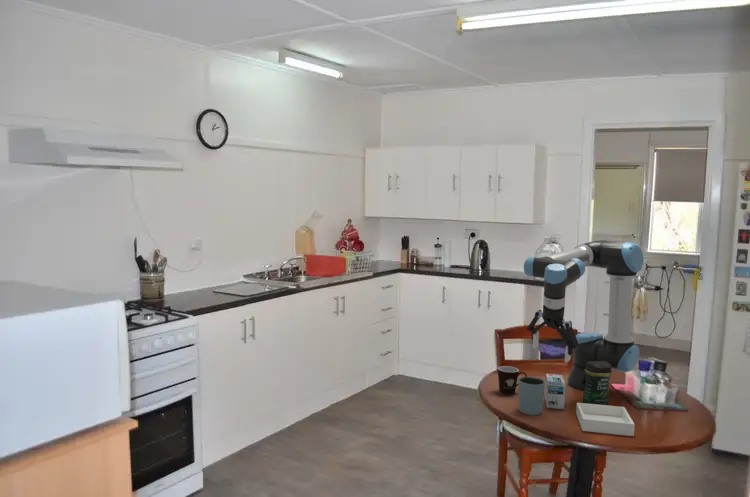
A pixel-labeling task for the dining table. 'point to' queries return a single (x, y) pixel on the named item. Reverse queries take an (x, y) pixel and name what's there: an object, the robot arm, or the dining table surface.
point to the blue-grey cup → (531, 395)
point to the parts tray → (604, 419)
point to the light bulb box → (555, 391)
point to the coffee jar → (597, 383)
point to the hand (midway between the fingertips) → (551, 354)
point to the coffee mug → (508, 379)
